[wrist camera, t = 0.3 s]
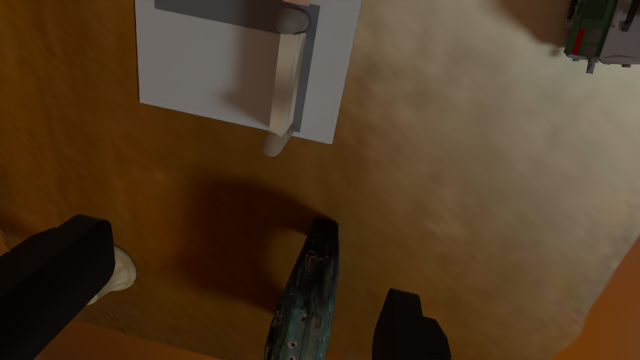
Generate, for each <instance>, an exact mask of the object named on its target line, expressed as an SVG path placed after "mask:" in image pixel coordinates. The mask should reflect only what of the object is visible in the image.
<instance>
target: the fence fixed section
mask: <svg viewBox="0 0 640 360" xmlns="http://www.w3.org/2000/svg"><path fill="white" fill-rule="evenodd" d="M310 24H311V17H310V15H309V14H308V12H306V11H305V10H299V9H290V8H282V9H280V10H278V11H277V12H276V14H275V16H274V25H275V28H276V29H277V31H278V32H280V33H281V35H280V44H279V52H278V60H277V68H276V77H275V85H274V93H273V101H272V110H271V118H270V126H269V134H268V135H267V137H266V138H265V139H264V140H263V141H262V144H261V148H262V151H263V152H264V153H265V154H266V155H268V156H276V155H278V154H279V153H280V151H281V150H282V148H283V147H284V146H285V144H286V143H287V141H288V140H289V138H290V137H291V135H292V134H293V132H294V125H293V116H294V110H295V103H296V96H297V90H298V83H299V76H300V70H301V63H302V56H303V50H304V43H305V36H306V32H302V31H305V30H307V29H308V28H309V27H310Z"/></svg>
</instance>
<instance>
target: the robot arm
mask: <svg viewBox="0 0 640 360" xmlns="http://www.w3.org/2000/svg"><path fill="white" fill-rule="evenodd" d="M115 264H116V261H115V252H114V244H113V235H112V227H111V224H110V222H109V221H107V220H104V219H100V218H95V217H91V216H87V215H83V214H78V215H75V216H73V217H72V218H70V219H69V220H68V221H66V222H65V223H63V224H62V225H60V226H59V227H57V228H55V227H54V228H51V229H48V230H46V231H43V232H41V233H38V234H36V235H33V236H30V237H29V238H27V239H26V240H24V241H23V242H21V243H20V244H18V245H17V246H15V247H14V248H12V249H11V251H10V252H6V253H5V254H3V255H2V256H0V360H33V359H34V358H35V357H36V356H37V355H38V354H39V353H40V352H41V351H42V350H43V349H44V348H45V347H46V346H47V345H48V344H49V343H50V342H51V341H52V340H53V339H54V338H55V337H56V336H57V335H58V334H59V333H60V332H61V331H62V330H63V328H64V327H65V326H66V325H67V324H68V323H69V322H70V321H71V320H72V319H73V318H74V317H75V316H76V315H77V314H78V313H79V312H80V311H81V310H82V309H83V308H84V307H85V306H86V305H87V304H88V303H89V302H90V301H91V300H92V299H93V298H94V297H95V296H96V295H97V294H98V293H99V292H100V290H101V289H102V288H103V287H104V286H105V285H106V284H107V283H108V282H109V280H110V279H111V277H112V275H113V273H114V270H115ZM451 358H452V357H451V353H450V348H449V344H448V339H447V337H446V335H445V334H444V332H443V330H442V329H441V327H440V326H439V324H438V322H437V321H436V319H432V318H428V317H424V316H423V314H422V308H421V302H420V297H419V295H418V294H414V293H410V292H405V291H401V290H397V289H393V288H391V289H390V290H389V292H388V294H387V297H386V300H385V302H384V305H383V308H382V311H381V313H380V316H379V319H378V322H377V324H376V328H375V331H374V337H373V344H372V360H451Z"/></svg>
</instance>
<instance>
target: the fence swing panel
mask: <svg viewBox="0 0 640 360" xmlns="http://www.w3.org/2000/svg"><path fill="white" fill-rule="evenodd" d="M283 1H284V2H289V3H294V4H299V5H305V6H309V5H310V0H283Z"/></svg>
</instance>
